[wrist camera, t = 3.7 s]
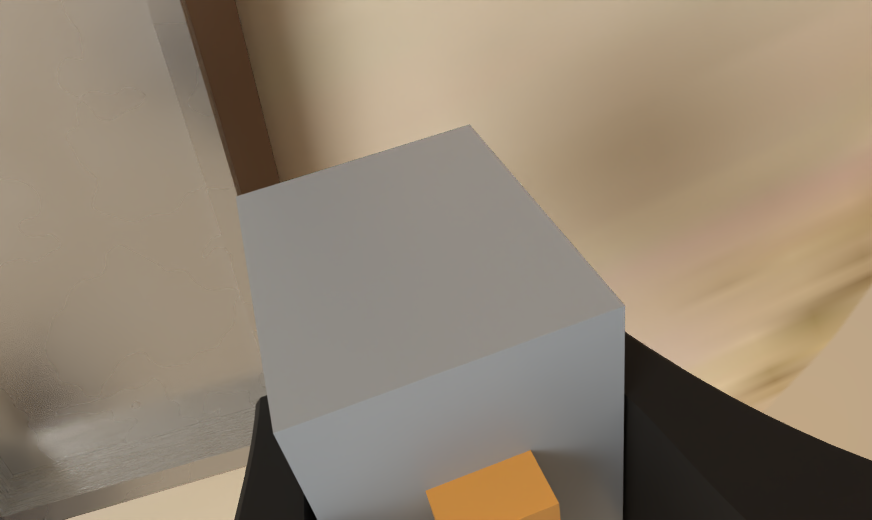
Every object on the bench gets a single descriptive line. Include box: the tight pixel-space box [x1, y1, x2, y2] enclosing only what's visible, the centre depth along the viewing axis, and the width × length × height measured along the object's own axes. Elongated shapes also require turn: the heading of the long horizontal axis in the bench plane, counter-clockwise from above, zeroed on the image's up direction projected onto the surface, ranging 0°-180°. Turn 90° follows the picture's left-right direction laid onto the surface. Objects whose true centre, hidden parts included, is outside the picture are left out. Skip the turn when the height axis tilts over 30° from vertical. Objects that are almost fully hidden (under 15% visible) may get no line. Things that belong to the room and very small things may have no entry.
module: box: [236, 124, 625, 520], centre depth 11 cm, size 4×6×6 cm, turn 9°
